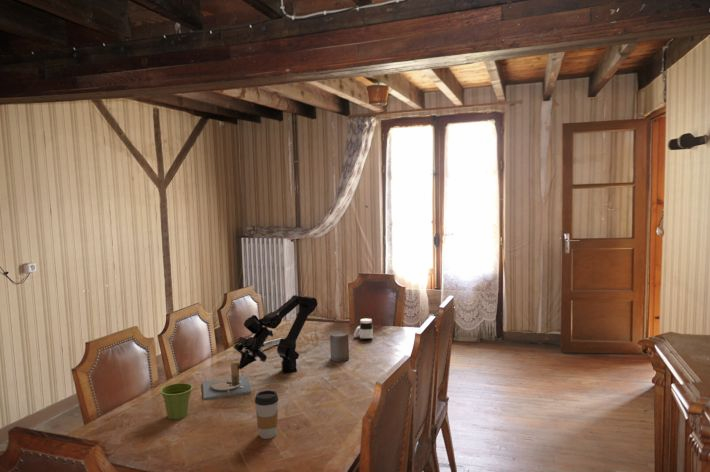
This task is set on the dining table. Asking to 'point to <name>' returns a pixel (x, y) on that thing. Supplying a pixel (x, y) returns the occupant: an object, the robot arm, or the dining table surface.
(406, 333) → the dining table surface
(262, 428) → the coffee cup
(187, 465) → the dining table surface
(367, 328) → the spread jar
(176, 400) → the plant pot
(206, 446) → the dining table surface
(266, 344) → the wrench
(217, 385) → the dial
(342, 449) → the dining table surface
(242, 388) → the dial board
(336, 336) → the pillar candle
